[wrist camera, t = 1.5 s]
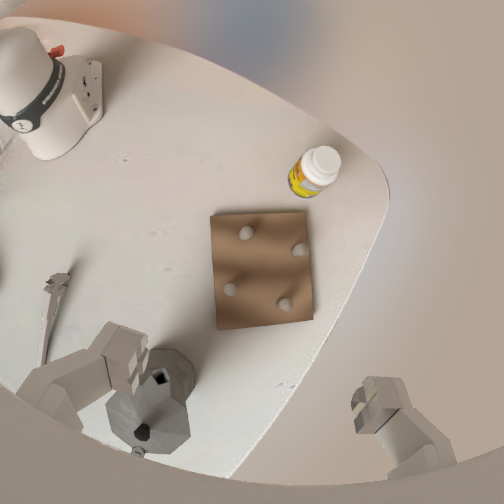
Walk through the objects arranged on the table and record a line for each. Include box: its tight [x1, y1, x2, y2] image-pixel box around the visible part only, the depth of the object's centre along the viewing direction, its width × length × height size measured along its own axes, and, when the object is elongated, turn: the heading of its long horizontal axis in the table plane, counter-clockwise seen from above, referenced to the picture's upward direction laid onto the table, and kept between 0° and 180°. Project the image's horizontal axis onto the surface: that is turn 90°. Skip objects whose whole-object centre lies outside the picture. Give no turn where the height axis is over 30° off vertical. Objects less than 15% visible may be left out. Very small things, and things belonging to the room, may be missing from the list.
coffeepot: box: [105, 349, 195, 458], centre depth 29 cm, size 15×9×18 cm, turn 159°
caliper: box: [36, 273, 70, 368], centre depth 33 cm, size 20×1×6 cm, turn 156°
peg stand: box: [210, 212, 314, 330], centre depth 39 cm, size 16×14×4 cm
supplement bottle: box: [288, 146, 341, 198], centre depth 39 cm, size 6×6×10 cm
